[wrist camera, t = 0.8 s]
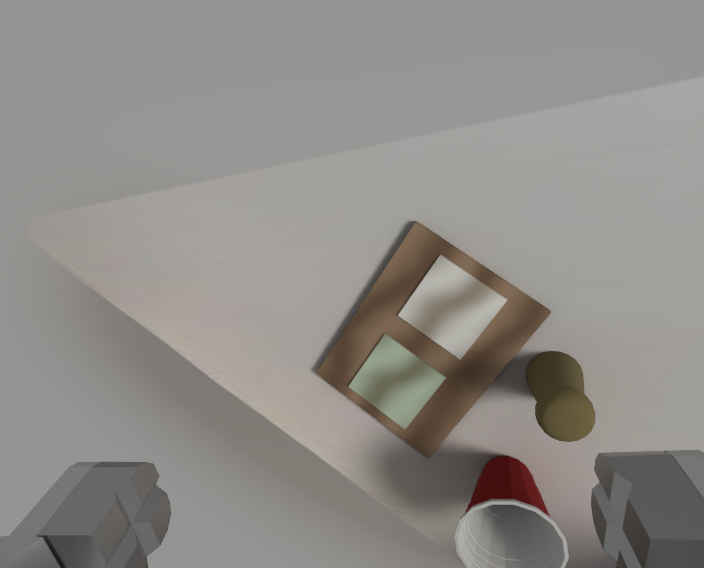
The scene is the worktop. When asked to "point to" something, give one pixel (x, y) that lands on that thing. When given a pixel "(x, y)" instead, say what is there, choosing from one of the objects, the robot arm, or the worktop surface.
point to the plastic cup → (509, 522)
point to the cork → (560, 396)
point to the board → (429, 339)
